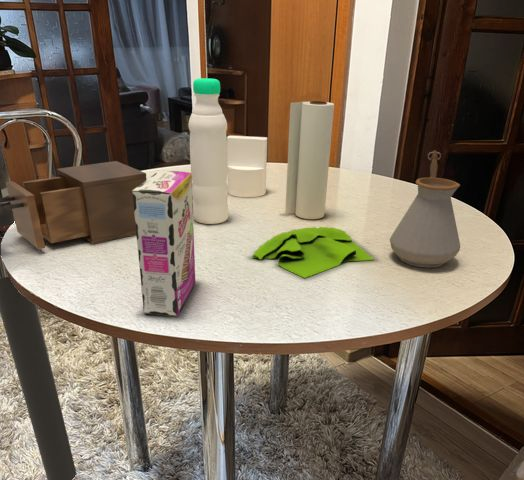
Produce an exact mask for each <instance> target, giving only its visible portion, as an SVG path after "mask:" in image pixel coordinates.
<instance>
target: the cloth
mask: <svg viewBox="0 0 524 480" xmlns="http://www.w3.org/2000/svg"><path fill="white" fill-rule="evenodd" d="M279 253H281V255H280V256H279V258H278V259H277V263H278V266H280V268H282V269H284V270H286V271H288V272H291V273H292V274H295V275H296V276H298V277H301V278H302V279H306V278H310V277H313V276H314V275H315V276H316V275H318V274H320V273H323V272H326V271H328V270H330V269H334V268H336V267H338V266H340V265H341V264H342V263H346V262H347V263H348V262H367V261H374V260H375V259H374V258H373V257H372V256H371V255H370V254H369V253H368V252H366V251H365V250H364V249H363V248H362V247H360V246H359V245H357V243H355V242H354V241H352V238H351V236H350V235H349V234H348V233H346V231H344V230H342V229H339V228H335V227H328V226H322V227H321V226H319V227H304V228H298V229H293V230H290V231H287V232H281V233H279V234H277V235H274V236H272V238H270V239H268V240H267V241H266V242H264V243H263V244H262V245H260V246H259V247H258V248H257V249H256V251H255V252H253V254H252V256H251V257H252V258H254V259H259V260H260V261H261V260H262V259H263V260H272V259H276V258H277V256H278V254H279Z"/></svg>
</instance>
